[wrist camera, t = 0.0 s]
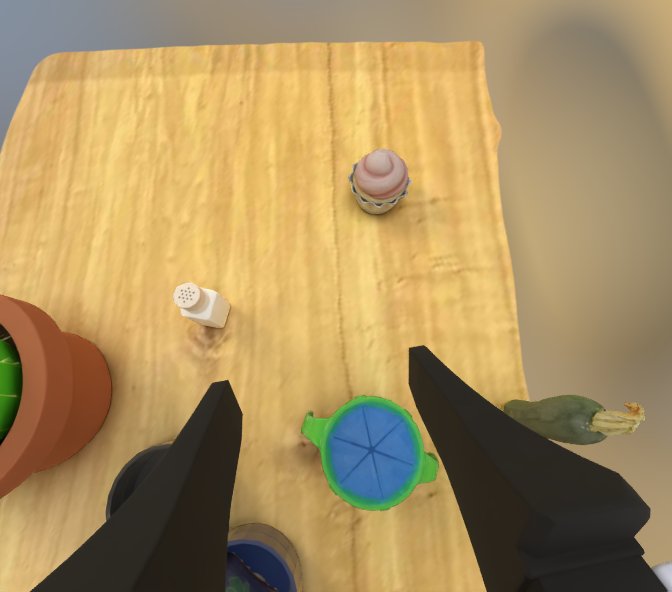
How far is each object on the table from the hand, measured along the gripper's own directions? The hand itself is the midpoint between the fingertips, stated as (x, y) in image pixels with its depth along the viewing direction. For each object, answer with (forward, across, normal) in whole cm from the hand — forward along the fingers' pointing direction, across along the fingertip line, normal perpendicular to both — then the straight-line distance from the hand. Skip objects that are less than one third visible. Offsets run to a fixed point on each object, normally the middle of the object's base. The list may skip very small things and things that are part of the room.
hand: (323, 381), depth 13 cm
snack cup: (+16, -3, +29) cm, 33 cm away
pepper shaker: (+31, +15, +16) cm, 38 cm away
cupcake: (+43, -12, +6) cm, 45 cm away
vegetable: (+16, -22, +29) cm, 40 cm away
